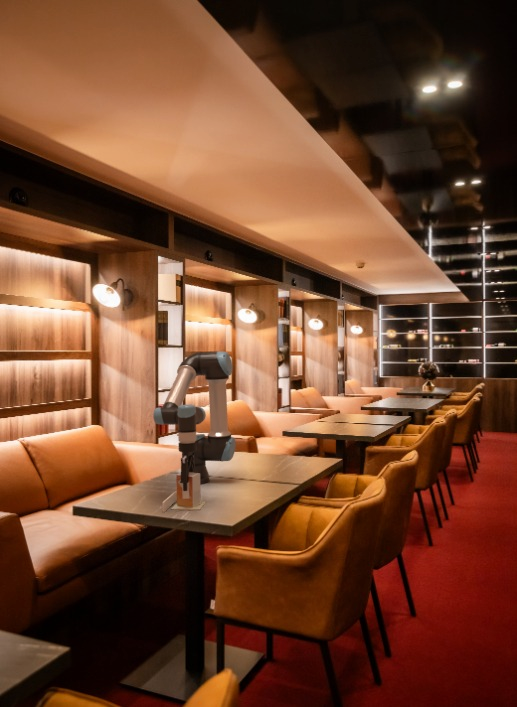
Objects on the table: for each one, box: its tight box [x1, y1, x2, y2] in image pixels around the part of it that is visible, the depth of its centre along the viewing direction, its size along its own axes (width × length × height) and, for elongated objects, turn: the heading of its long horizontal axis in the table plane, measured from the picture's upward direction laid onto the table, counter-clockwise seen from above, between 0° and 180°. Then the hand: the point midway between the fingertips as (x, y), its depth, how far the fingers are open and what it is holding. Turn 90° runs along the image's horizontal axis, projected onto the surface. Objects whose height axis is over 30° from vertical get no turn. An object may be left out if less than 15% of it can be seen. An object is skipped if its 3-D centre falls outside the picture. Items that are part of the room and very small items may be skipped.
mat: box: [170, 501, 207, 511], centre depth 248 cm, size 12×12×1 cm
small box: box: [176, 472, 202, 508], centre depth 248 cm, size 8×6×13 cm
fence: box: [161, 490, 177, 513], centre depth 249 cm, size 20×1×4 cm, turn 172°
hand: (188, 495), depth 248 cm, fingers open, 8 cm apart
